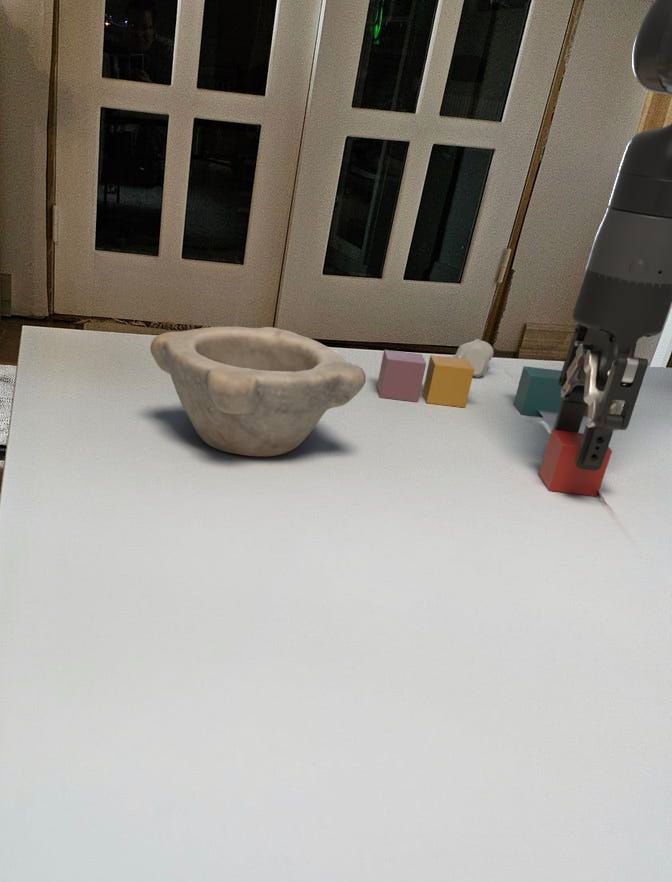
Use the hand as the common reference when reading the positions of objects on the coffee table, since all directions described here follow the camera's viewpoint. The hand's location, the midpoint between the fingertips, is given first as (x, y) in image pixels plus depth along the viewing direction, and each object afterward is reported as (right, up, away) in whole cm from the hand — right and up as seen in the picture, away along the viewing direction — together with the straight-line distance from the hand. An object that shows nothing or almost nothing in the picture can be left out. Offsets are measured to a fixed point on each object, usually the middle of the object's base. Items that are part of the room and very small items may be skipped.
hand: (574, 453), depth 88 cm
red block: (0, -3, +2) cm, 3 cm away
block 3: (+5, +10, +23) cm, 25 cm away
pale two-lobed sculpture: (+1, +18, +37) cm, 41 cm away
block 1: (-12, +12, +24) cm, 29 cm away
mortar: (-31, +2, +4) cm, 31 cm away
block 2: (-6, +11, +23) cm, 27 cm away
